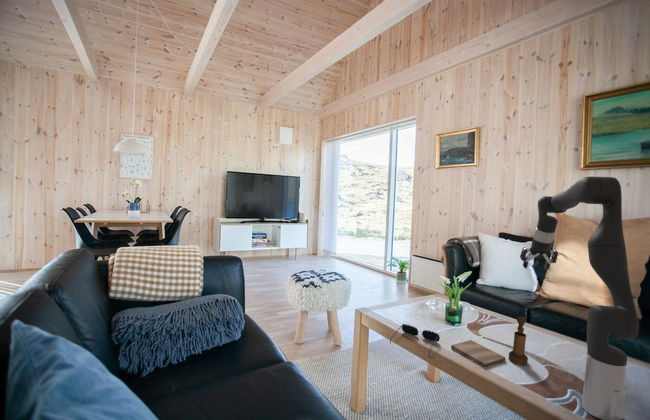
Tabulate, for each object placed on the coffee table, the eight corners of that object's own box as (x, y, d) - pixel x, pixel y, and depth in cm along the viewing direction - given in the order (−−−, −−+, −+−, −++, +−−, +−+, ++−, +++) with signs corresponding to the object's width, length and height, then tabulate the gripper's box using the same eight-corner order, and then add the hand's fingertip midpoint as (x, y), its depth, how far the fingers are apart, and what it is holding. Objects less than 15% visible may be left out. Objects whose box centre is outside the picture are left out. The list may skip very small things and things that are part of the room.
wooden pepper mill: (530, 366, 128) (534, 321, 126) (511, 364, 129) (515, 319, 128) (523, 357, 134) (527, 314, 133) (506, 355, 136) (509, 312, 134)
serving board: (505, 361, 131) (505, 357, 131) (485, 367, 126) (485, 363, 125) (470, 343, 145) (470, 340, 145) (451, 348, 140) (451, 345, 140)
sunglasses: (439, 343, 145) (440, 333, 144) (429, 361, 133) (429, 350, 132) (402, 332, 154) (402, 322, 154) (389, 348, 143) (389, 338, 142)
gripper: (528, 241, 147) (520, 271, 154) (564, 243, 144) (555, 274, 151) (523, 233, 153) (516, 262, 160) (557, 235, 150) (549, 265, 157)
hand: (535, 268), depth 155 cm, fingers open, 8 cm apart
